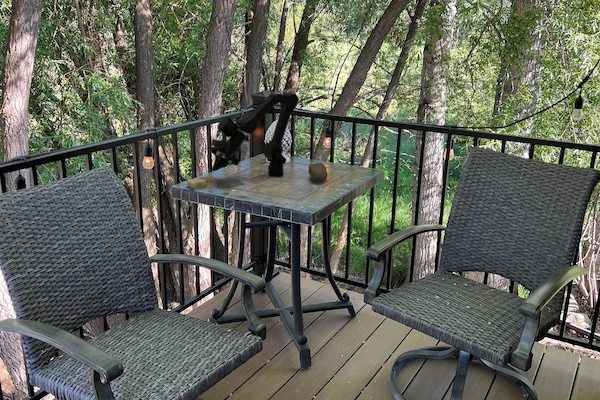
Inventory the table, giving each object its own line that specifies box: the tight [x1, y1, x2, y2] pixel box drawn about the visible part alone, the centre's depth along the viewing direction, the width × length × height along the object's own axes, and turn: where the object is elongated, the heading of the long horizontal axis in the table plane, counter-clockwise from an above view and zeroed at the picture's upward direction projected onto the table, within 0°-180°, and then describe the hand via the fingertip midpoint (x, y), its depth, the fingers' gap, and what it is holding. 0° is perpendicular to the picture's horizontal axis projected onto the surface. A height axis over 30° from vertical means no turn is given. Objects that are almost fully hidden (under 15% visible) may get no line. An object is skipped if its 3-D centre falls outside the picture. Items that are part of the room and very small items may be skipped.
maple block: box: [186, 175, 217, 191], centre depth 253 cm, size 4×6×11 cm
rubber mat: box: [215, 176, 246, 190], centre depth 260 cm, size 13×14×1 cm
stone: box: [308, 162, 328, 182], centre depth 266 cm, size 17×9×8 cm, turn 6°
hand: (212, 171), depth 254 cm, fingers closed
